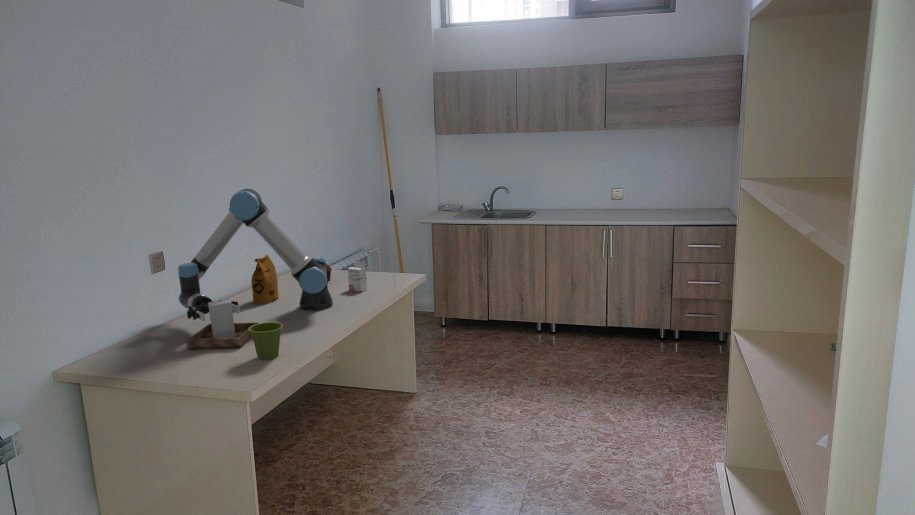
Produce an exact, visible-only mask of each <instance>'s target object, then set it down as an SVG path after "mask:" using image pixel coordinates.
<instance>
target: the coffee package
mask: <svg viewBox="0 0 915 515" xmlns="http://www.w3.org/2000/svg"><path fill="white" fill-rule="evenodd" d="M254 262H256V266H255V269H254V272H253V273H252V275H251V290H252V301H253V303H254V304H259V303H262V305H265V304H266V305H269V304H270V303H271V302H274V301H277V299H279V286H278V277H277V271H276V266H275V265H274V262H273V261H272V259H271V258H270V256H269V254H266V255H264V257H258V258H255V259H254Z"/></svg>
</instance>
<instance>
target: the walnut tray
mask: <svg viewBox="0 0 915 515" xmlns="http://www.w3.org/2000/svg"><path fill="white" fill-rule="evenodd" d="M256 324H259V322H234V327H235V334H236V338H213V333H212V326H211V323H208V324H207V325H205V326H204V327H203V328H202V329H200V330H199V331H197V332H196V333H194V334H193V335H191V336H190V337H189V338H187V339H186V345H187V350H189V351H194V350H195V351H196V350H240V349H242V348H243V347H244V346H245V345H246V344H248V343H249V342H250V341H251V340H253V337H252V336H251V332H250V331H249V330H248V329H249V327H251V326H253V325H256Z"/></svg>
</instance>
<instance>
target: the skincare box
mask: <svg viewBox="0 0 915 515" xmlns="http://www.w3.org/2000/svg"><path fill="white" fill-rule="evenodd" d="M220 300H221V301H219V300H216V301H213V302H209V303H208V307H209V313H208V314H209V319H210V324H211V326H212V333H213V338H236V334H235V327H234V323H235V322H234V314H233V311H232V306H231V301H232V300H230V298H227V299H220Z"/></svg>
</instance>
